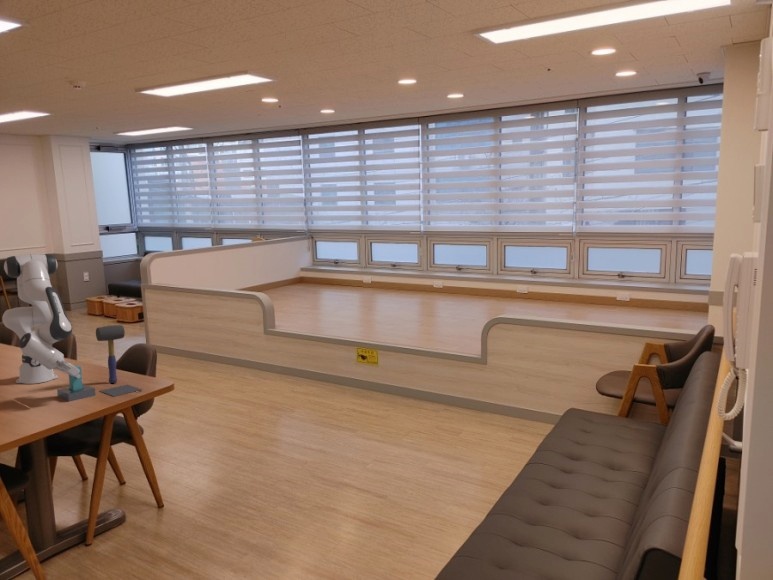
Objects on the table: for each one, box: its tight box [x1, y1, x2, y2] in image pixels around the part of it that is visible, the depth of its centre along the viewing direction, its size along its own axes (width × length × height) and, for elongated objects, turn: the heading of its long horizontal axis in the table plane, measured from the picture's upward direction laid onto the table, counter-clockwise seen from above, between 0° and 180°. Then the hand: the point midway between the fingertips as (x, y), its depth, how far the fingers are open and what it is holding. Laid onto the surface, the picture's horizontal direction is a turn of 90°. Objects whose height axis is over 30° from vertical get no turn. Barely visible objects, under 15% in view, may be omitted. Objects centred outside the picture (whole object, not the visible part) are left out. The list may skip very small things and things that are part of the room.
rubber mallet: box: [95, 324, 125, 384], centre depth 293 cm, size 12×8×30 cm, turn 131°
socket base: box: [56, 383, 96, 402], centre depth 271 cm, size 12×12×4 cm
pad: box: [99, 384, 143, 398], centre depth 280 cm, size 14×14×1 cm
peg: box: [68, 365, 83, 391], centre depth 271 cm, size 4×4×11 cm
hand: (76, 376), depth 271 cm, fingers closed on peg, 4 cm apart
